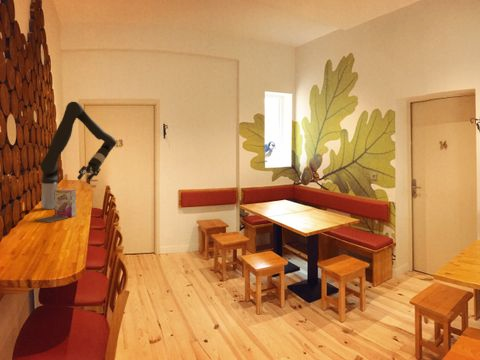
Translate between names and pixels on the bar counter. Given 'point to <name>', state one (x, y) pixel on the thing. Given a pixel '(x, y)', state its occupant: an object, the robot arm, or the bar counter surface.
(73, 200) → the candy bar box
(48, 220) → the mat
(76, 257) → the bar counter surface
